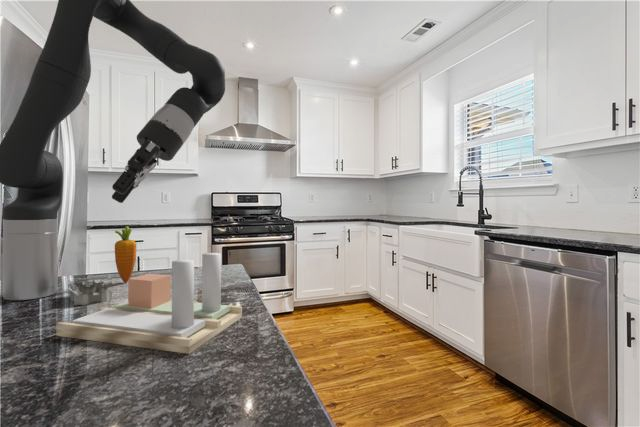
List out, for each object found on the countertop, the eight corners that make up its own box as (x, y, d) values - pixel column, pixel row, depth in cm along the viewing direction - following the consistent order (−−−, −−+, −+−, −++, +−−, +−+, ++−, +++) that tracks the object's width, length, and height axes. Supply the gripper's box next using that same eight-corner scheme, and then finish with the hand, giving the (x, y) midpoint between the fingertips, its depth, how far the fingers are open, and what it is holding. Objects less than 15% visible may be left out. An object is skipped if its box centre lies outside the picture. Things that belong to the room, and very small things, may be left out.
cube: (128, 306, 60) (128, 279, 60) (148, 298, 65) (148, 273, 65) (151, 308, 59) (151, 280, 59) (170, 300, 64) (170, 275, 64)
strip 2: (114, 311, 60) (114, 251, 60) (139, 302, 66) (140, 247, 66) (212, 321, 56) (212, 257, 55) (229, 310, 62) (230, 252, 61)
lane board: (56, 335, 52) (56, 323, 52) (135, 306, 68) (135, 296, 68) (189, 353, 46) (189, 339, 46) (241, 317, 62) (242, 306, 62)
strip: (72, 326, 53) (72, 258, 52) (105, 314, 58) (105, 253, 58) (181, 340, 48) (181, 265, 48) (205, 325, 54) (205, 258, 53)
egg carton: (114, 302, 71) (114, 283, 71) (70, 308, 67) (70, 288, 66) (106, 291, 80) (106, 274, 79) (67, 296, 75) (67, 278, 75)
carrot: (126, 285, 85) (126, 227, 84) (109, 284, 86) (110, 226, 85) (140, 281, 89) (140, 226, 89) (124, 280, 90) (125, 225, 90)
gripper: (146, 133, 72) (97, 192, 65) (153, 105, 60) (94, 174, 53) (177, 154, 75) (133, 213, 68) (190, 131, 63) (139, 200, 56)
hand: (116, 196), depth 61 cm, fingers open, 8 cm apart
